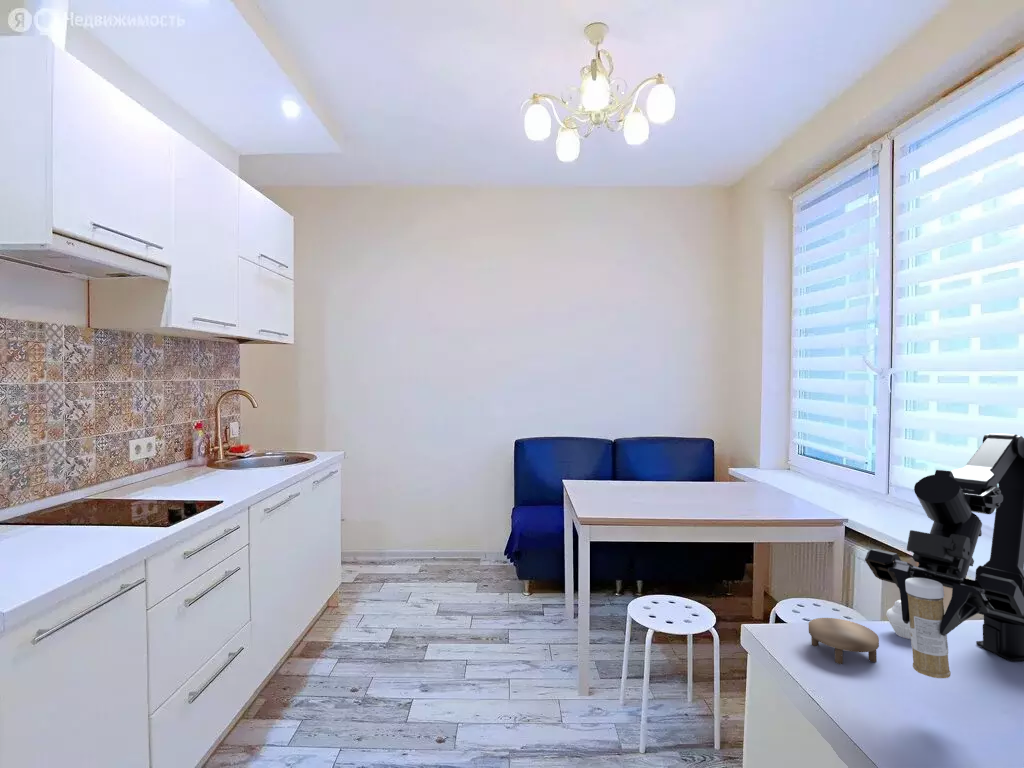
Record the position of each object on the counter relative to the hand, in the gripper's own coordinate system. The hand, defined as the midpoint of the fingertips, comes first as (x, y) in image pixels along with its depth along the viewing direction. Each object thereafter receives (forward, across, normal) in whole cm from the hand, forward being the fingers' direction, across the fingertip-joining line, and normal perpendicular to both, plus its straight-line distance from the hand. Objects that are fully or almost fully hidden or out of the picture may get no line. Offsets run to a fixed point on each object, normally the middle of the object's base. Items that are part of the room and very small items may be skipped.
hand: (922, 627), depth 78 cm
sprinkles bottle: (+4, 0, +6) cm, 7 cm away
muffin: (-9, -13, +28) cm, 33 cm away
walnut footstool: (+3, -16, +16) cm, 23 cm away
